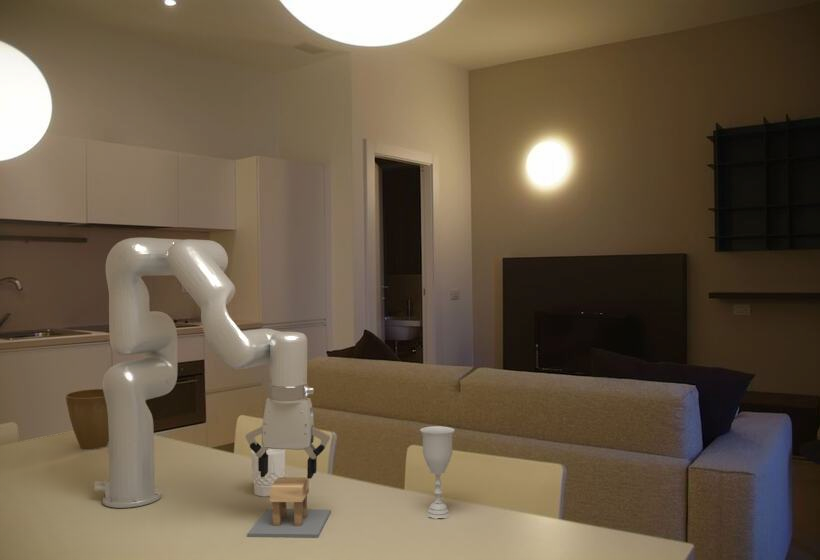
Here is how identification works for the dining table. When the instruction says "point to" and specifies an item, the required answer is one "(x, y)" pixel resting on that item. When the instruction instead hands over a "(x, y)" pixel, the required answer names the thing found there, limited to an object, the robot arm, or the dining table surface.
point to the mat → (290, 524)
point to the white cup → (274, 471)
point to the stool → (289, 498)
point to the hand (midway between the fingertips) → (287, 475)
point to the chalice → (437, 462)
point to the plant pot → (89, 417)
